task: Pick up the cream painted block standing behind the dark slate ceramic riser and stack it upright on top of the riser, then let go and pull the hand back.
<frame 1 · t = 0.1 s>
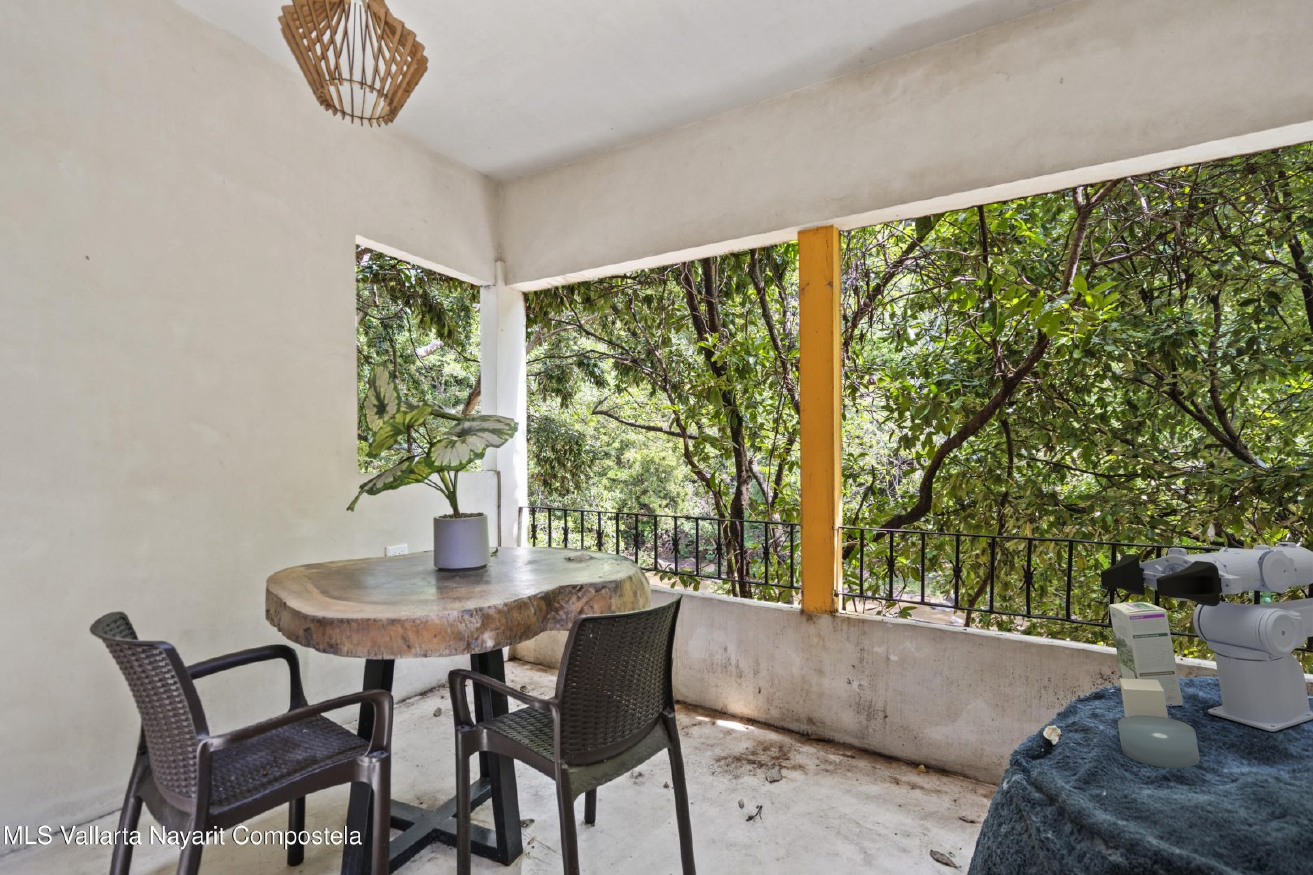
hand: (1130, 582, 86), 22 cm above the table, tool horizontal, fingers open, 7 cm apart
cream block: (1147, 727, 91), on the table
syrup box: (1152, 702, 99), on the table
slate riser: (1159, 754, 83), on the table
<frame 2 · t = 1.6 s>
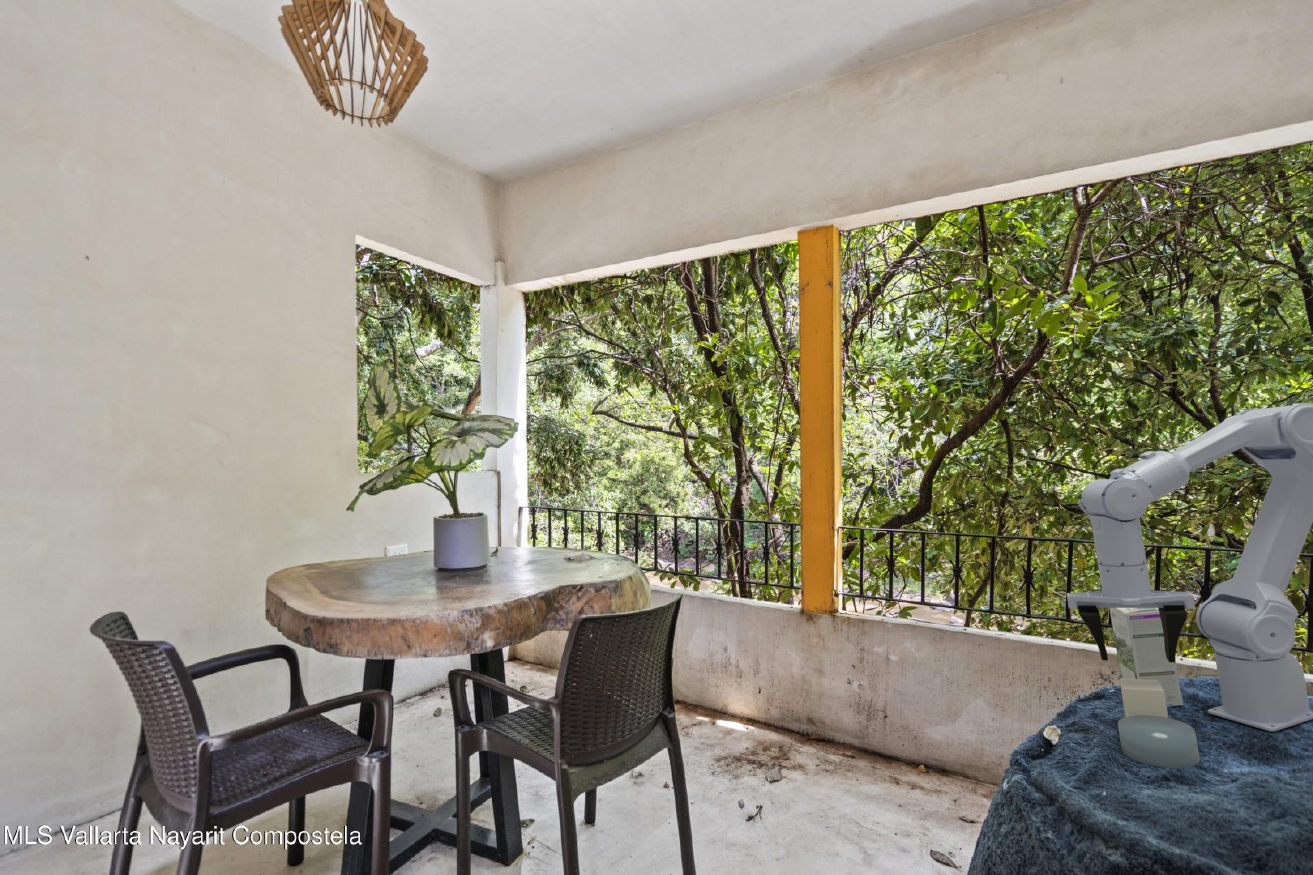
hand: (1137, 659, 91), 9 cm above the table, tool pointing down, fingers open, 7 cm apart
nothing on the table moved.
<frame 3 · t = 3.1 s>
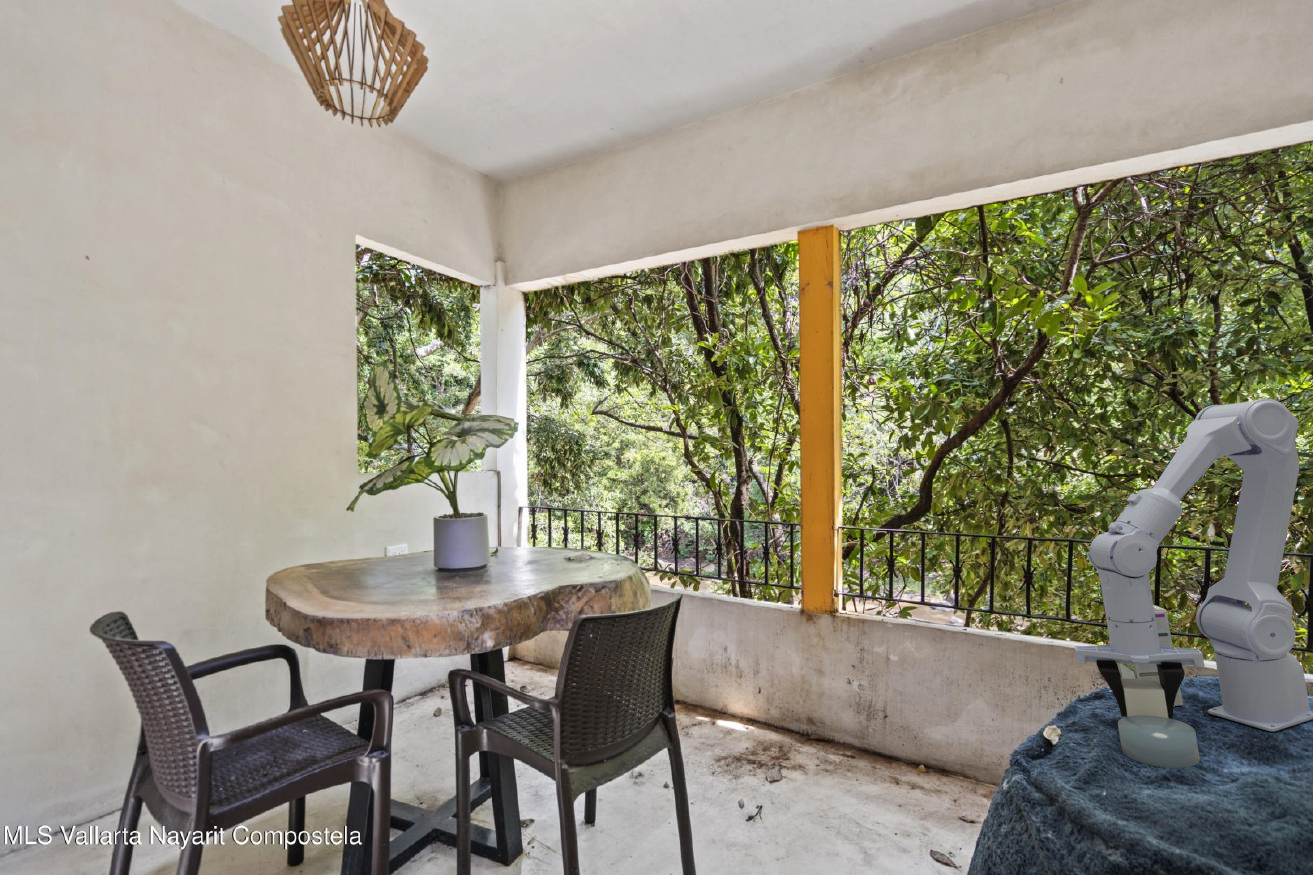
hand: (1145, 715, 91), 2 cm above the table, tool pointing down, fingers closed on cream block, 4 cm apart
cream block: (1147, 727, 91), on the table, touching gripper
everything else where it was.
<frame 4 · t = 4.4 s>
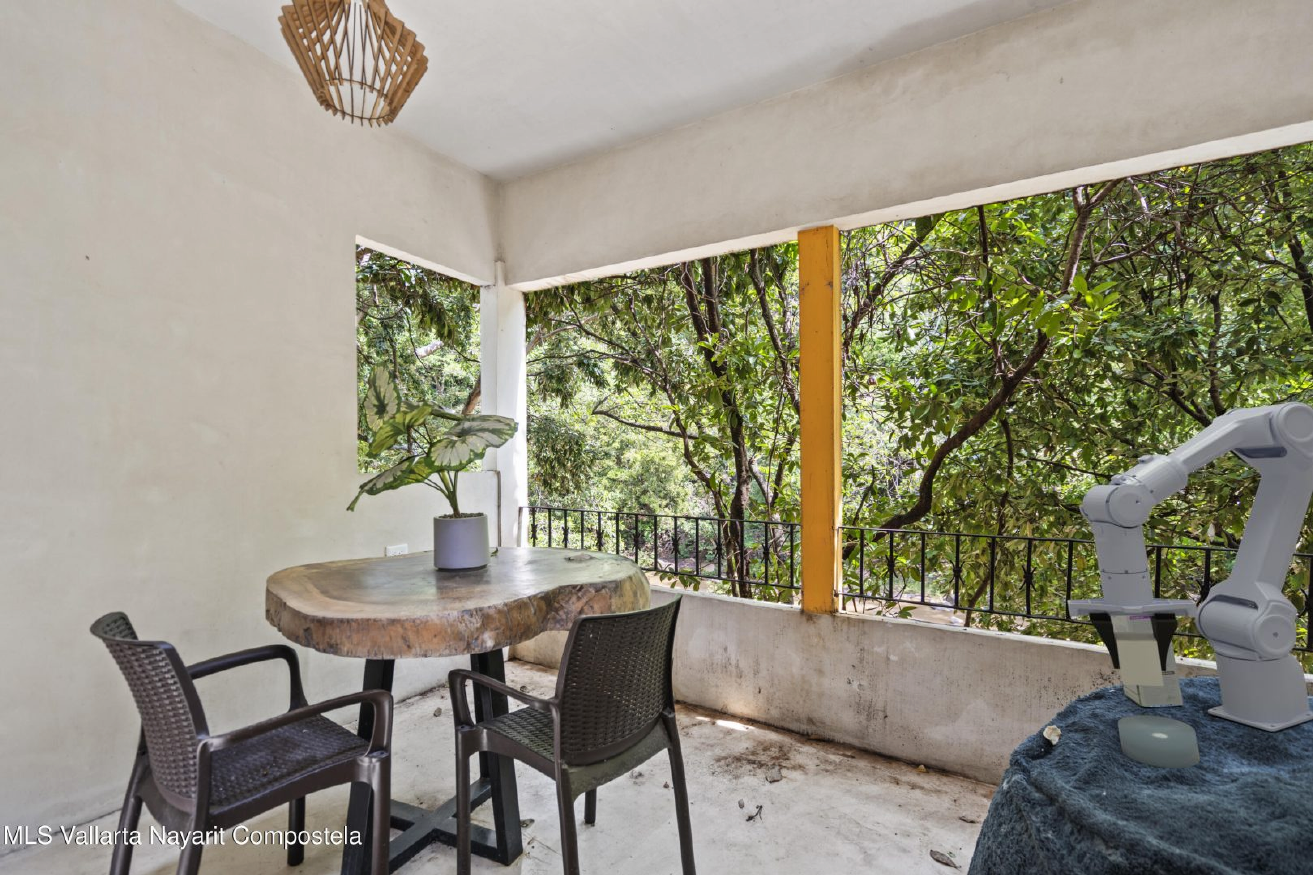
hand: (1138, 667, 90), 9 cm above the table, tool pointing down, fingers closed on cream block, 4 cm apart
cream block: (1140, 679, 90), point 7 cm above the table, touching gripper
everything else where it was.
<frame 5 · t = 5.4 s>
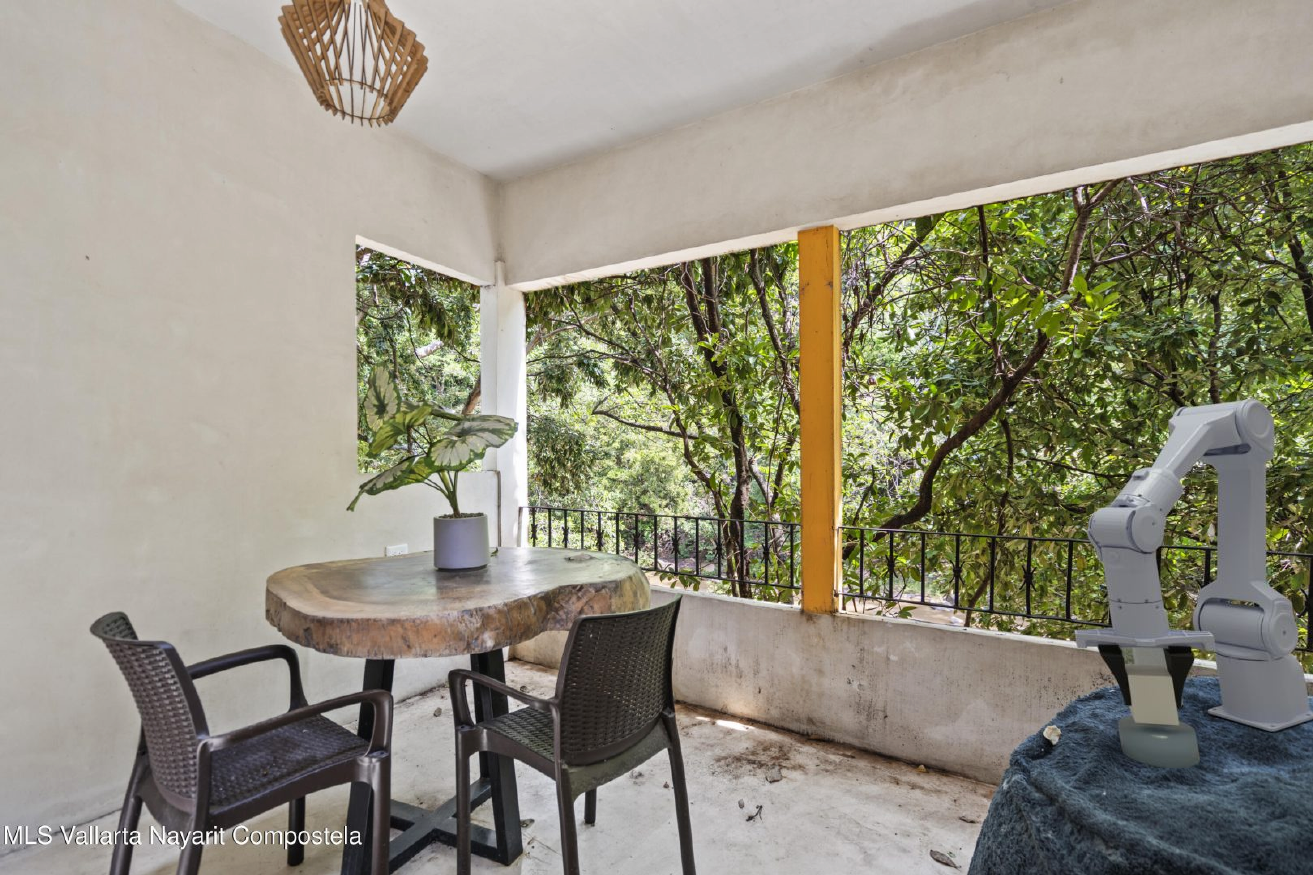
hand: (1151, 704, 84), 6 cm above the table, tool pointing down, fingers closed on cream block, 4 cm apart
cream block: (1153, 717, 84), point 5 cm above the table, touching gripper
everything else where it was.
when the fingers open (6 cm above the table, at t = 5.8 s): cream block drops 1 cm, resting on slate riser.
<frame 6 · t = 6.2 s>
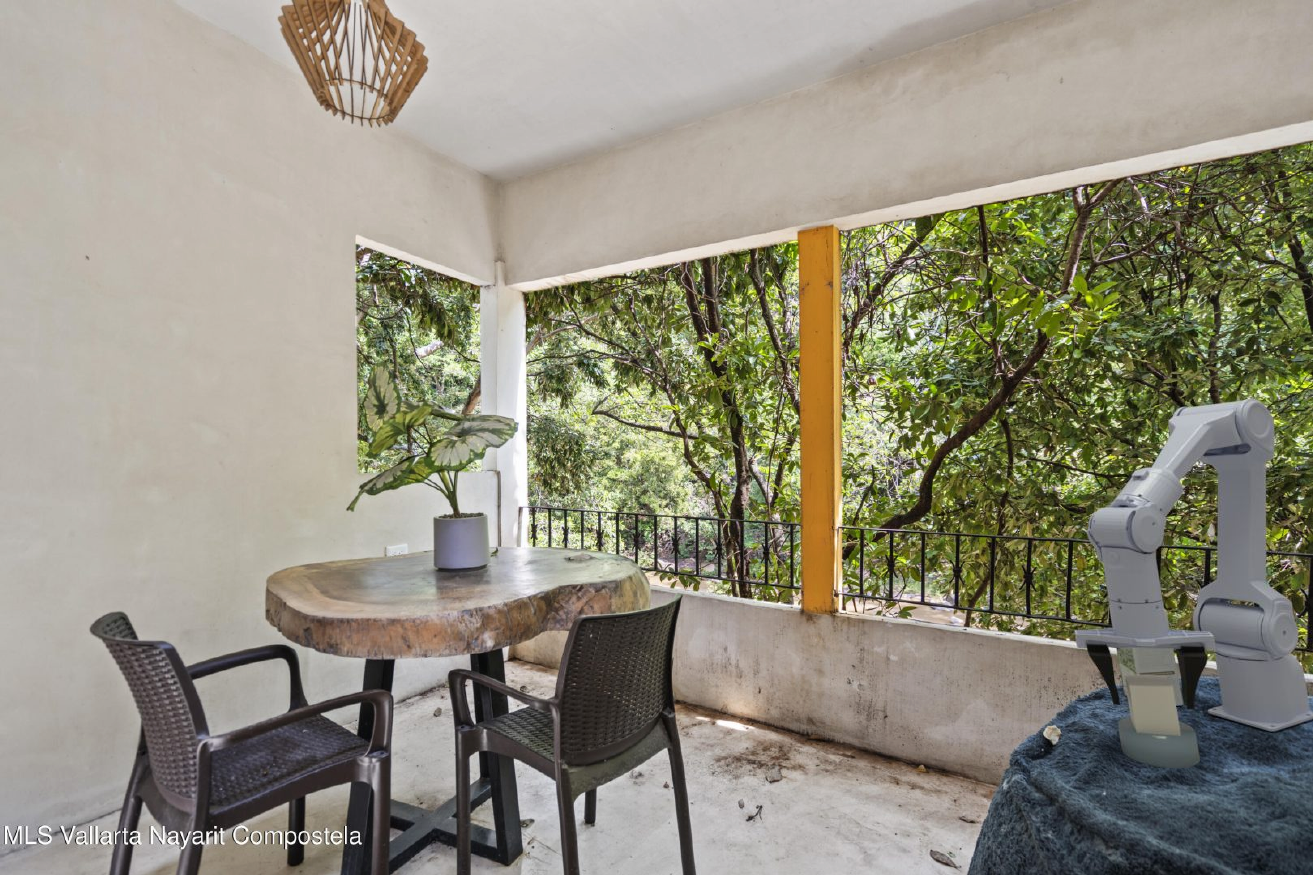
hand: (1151, 704, 84), 6 cm above the table, tool pointing down, fingers open, 7 cm apart
cream block: (1155, 727, 84), point 3 cm above the table, touching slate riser
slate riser: (1159, 755, 83), on the table, touching cream block
everything else where it was.
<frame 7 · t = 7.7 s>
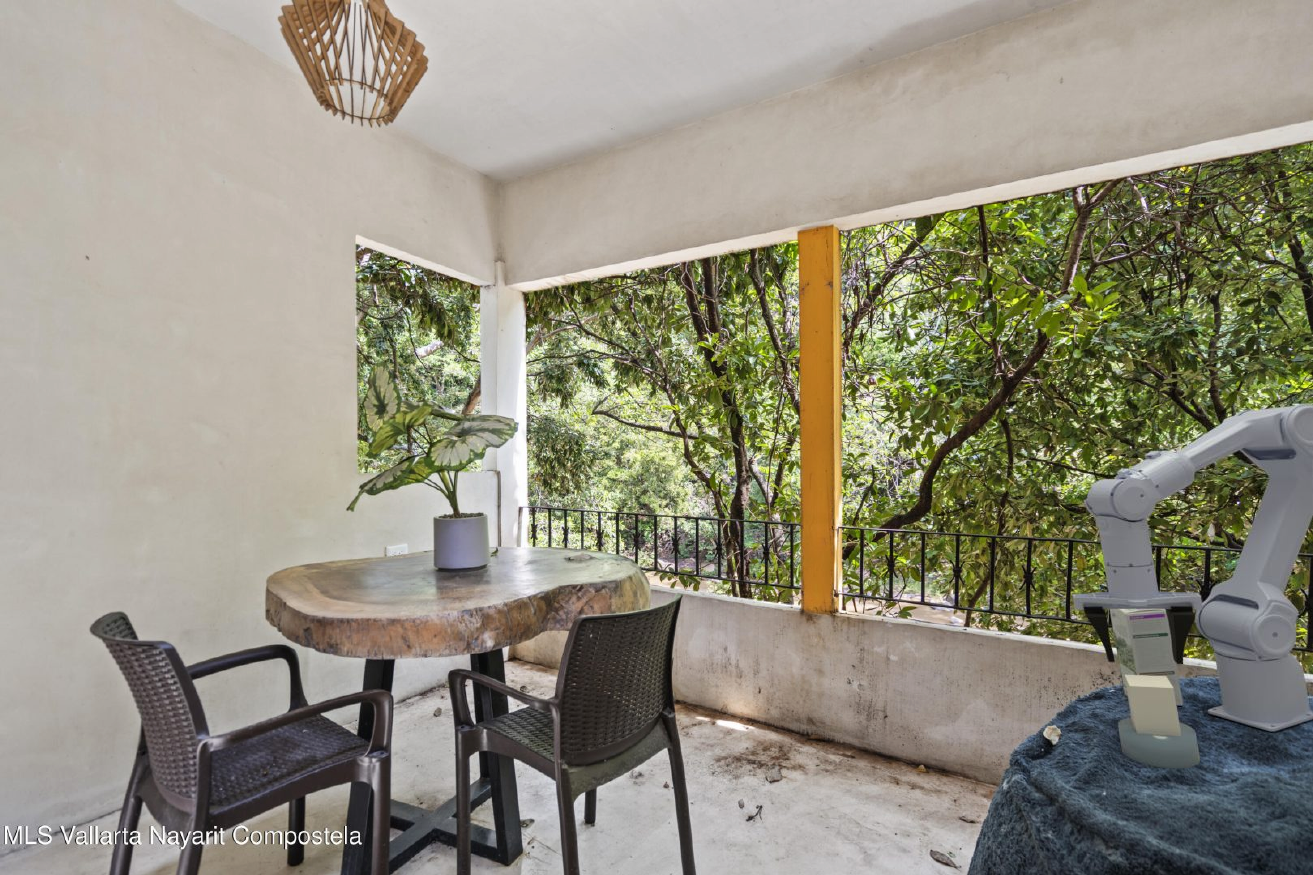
hand: (1144, 661, 90), 9 cm above the table, tool pointing down, fingers open, 7 cm apart
nothing on the table moved.
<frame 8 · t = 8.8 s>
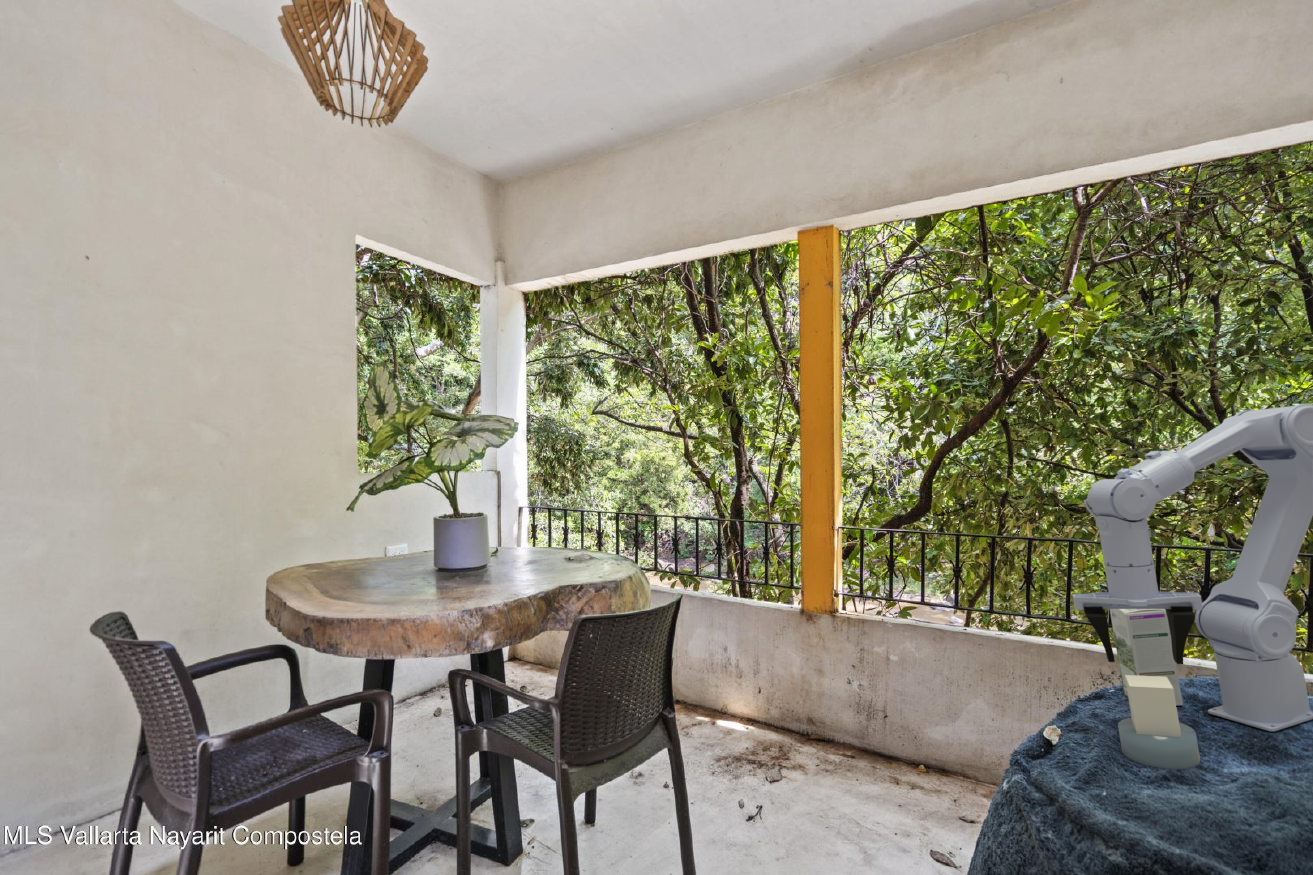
hand: (1144, 661, 90), 9 cm above the table, tool pointing down, fingers open, 7 cm apart
nothing on the table moved.
at the end: cream block 0.1 cm off-centre on the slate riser, point 3.5 cm above the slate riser's base; cream block tilted 0°; the gripper is holding nothing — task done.
